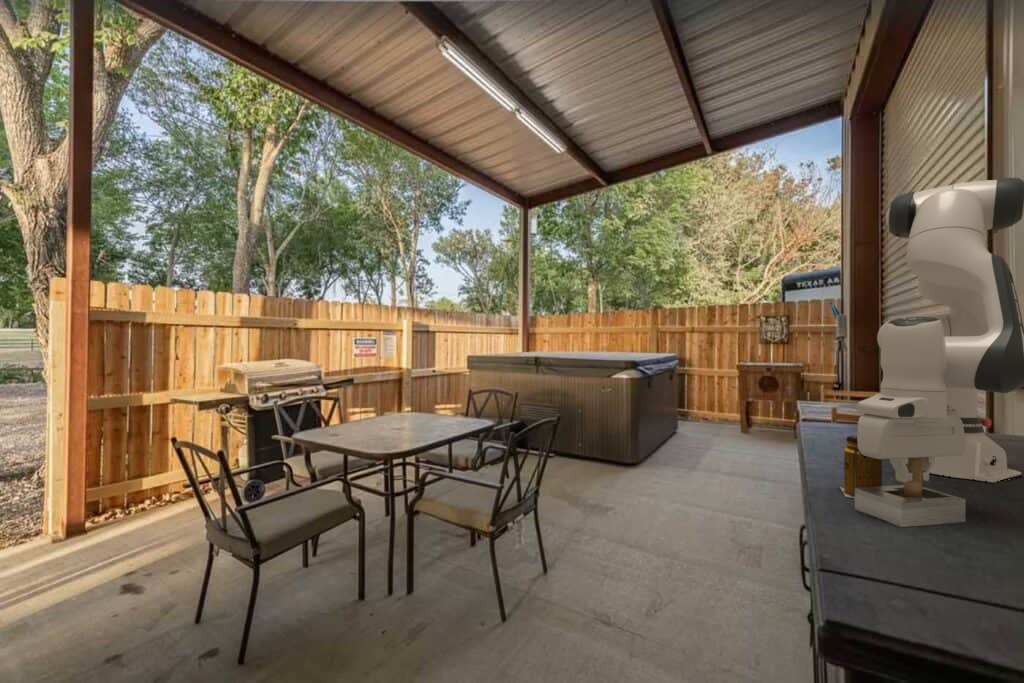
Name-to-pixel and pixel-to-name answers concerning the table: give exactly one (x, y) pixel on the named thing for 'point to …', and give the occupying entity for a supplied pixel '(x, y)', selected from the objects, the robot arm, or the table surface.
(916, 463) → the peg
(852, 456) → the condiment
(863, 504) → the keyhole plate
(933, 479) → the table surface
